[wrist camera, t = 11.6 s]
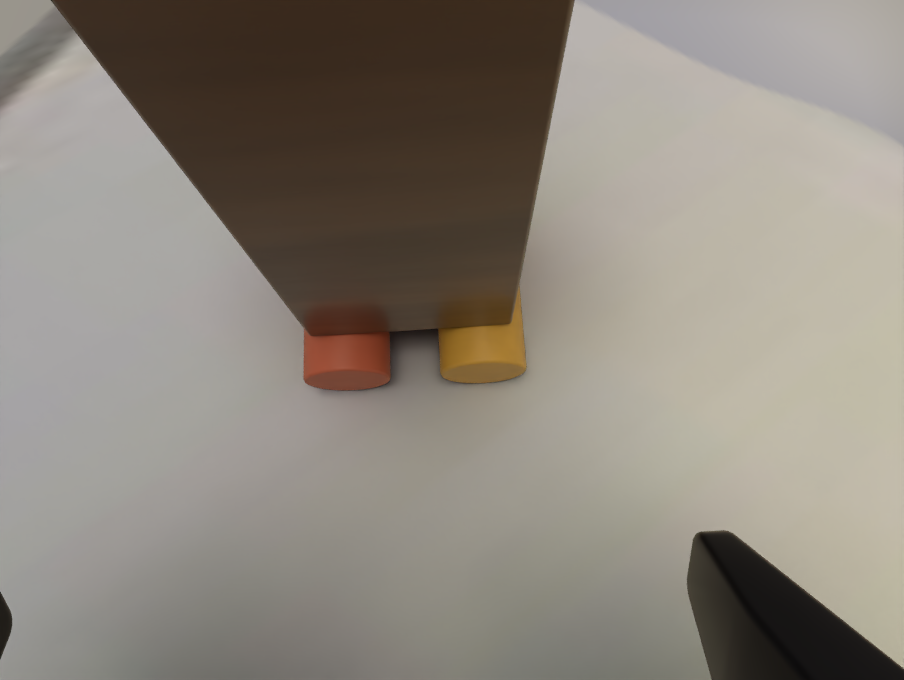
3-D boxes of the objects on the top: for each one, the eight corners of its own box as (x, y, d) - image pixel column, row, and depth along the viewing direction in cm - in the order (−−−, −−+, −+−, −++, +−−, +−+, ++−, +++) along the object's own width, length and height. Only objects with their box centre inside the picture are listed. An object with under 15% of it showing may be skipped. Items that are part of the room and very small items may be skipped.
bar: (512, 324, 18) (599, -110, 6) (309, 337, 18) (-8, -70, 6) (500, 190, 19) (553, -399, 7) (310, 203, 19) (44, -363, 7)
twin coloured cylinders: (522, 381, 20) (530, 359, 17) (314, 392, 20) (293, 373, 18) (507, 199, 22) (512, 158, 19) (315, 210, 22) (297, 171, 19)
